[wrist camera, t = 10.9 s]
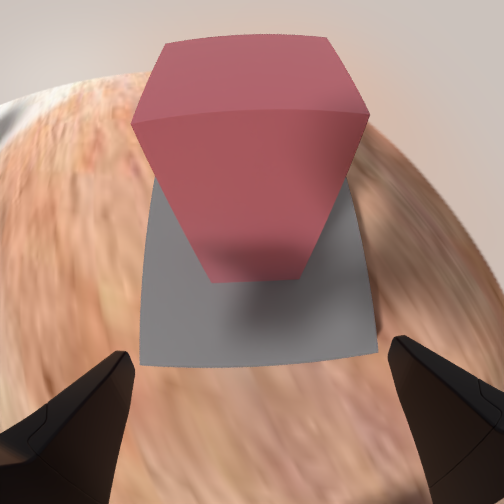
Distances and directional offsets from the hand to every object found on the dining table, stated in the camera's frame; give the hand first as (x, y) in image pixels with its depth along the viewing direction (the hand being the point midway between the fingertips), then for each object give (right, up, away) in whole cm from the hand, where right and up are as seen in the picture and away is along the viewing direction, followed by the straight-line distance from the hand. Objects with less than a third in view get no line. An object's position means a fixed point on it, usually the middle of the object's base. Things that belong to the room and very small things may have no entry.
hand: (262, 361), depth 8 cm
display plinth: (0, +3, +12) cm, 12 cm away
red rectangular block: (0, +4, +10) cm, 11 cm away
